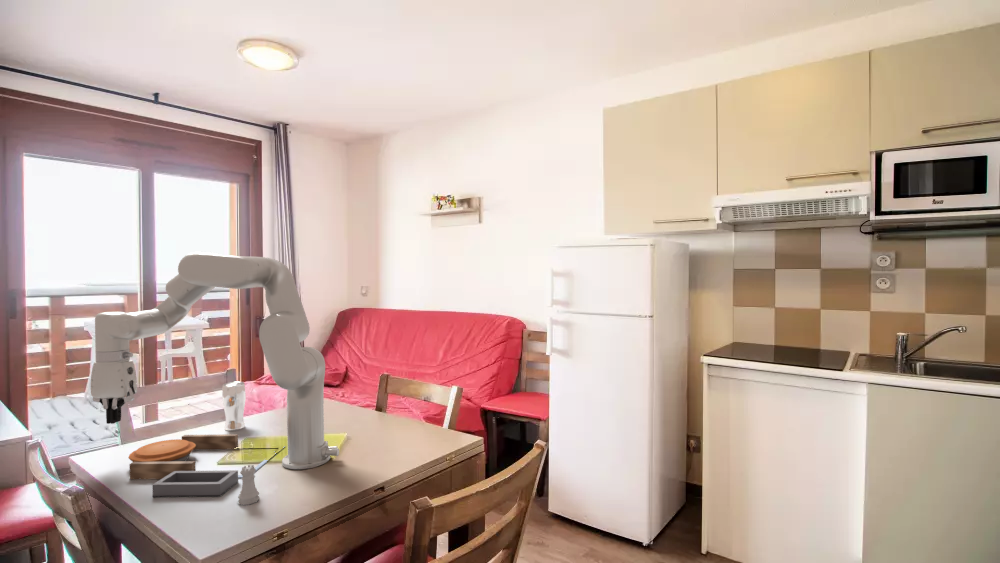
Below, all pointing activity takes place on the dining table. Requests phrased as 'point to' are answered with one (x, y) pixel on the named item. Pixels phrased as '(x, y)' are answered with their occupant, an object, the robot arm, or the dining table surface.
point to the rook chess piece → (248, 487)
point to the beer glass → (234, 405)
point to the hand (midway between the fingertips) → (113, 422)
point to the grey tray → (195, 484)
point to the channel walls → (165, 468)
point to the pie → (163, 451)
